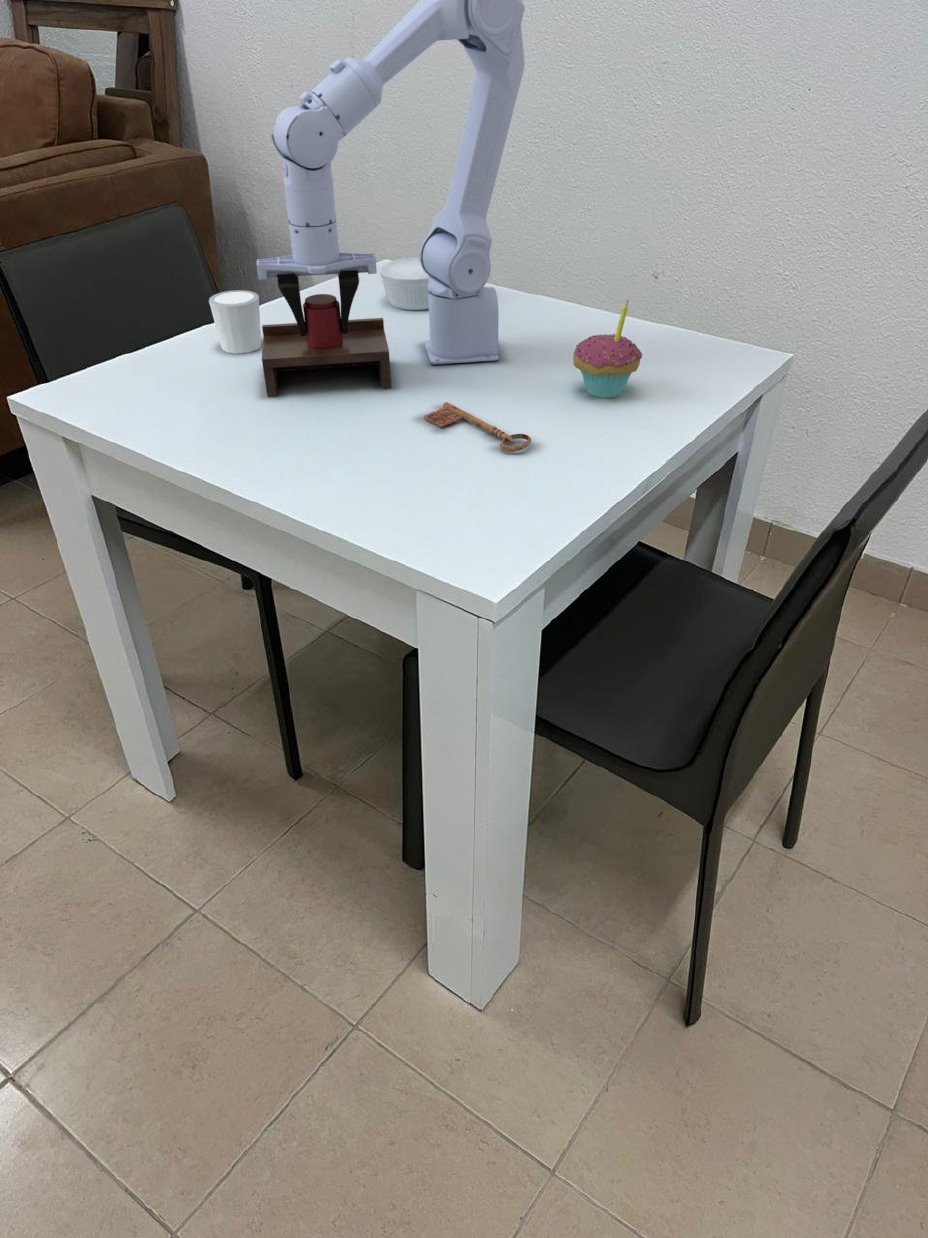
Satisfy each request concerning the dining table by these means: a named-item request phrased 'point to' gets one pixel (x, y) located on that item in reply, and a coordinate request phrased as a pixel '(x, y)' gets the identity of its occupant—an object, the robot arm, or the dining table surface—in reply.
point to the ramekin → (406, 284)
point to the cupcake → (607, 361)
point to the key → (453, 414)
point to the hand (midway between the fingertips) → (323, 332)
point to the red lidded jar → (322, 321)
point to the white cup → (237, 320)
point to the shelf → (324, 351)
